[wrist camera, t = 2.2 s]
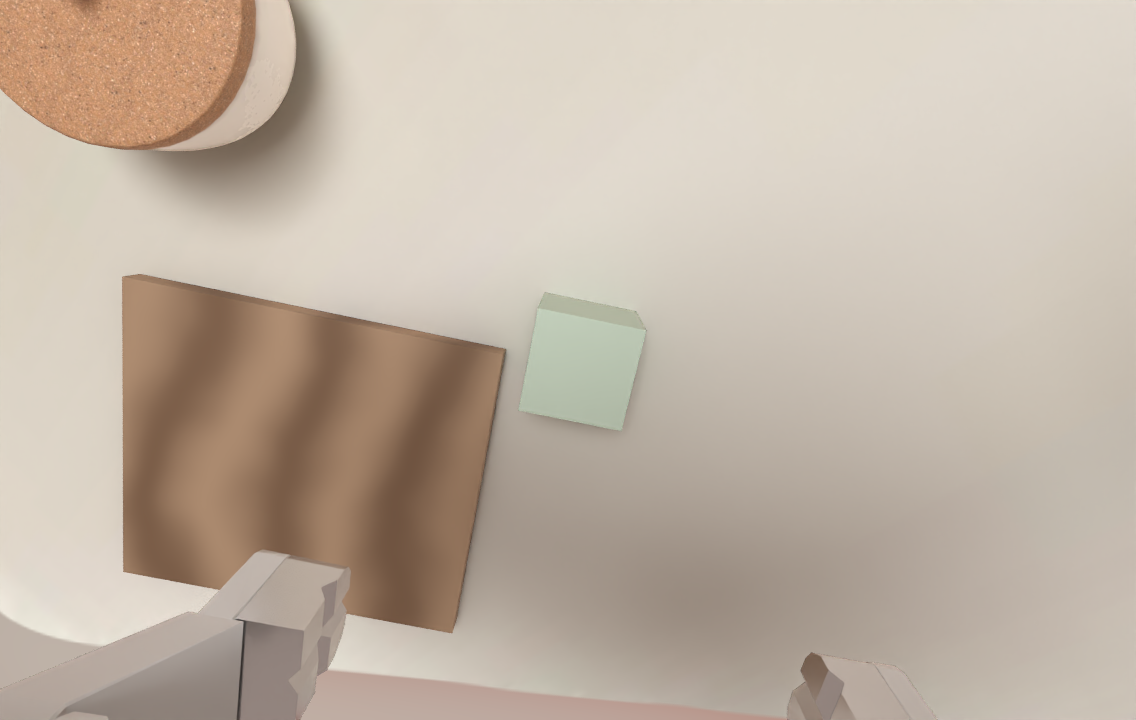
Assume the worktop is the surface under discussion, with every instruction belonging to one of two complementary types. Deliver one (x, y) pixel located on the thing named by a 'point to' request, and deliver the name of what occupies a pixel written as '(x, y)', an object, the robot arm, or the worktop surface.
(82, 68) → the lidded jar
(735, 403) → the worktop surface
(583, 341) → the sage cube
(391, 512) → the cutting board
